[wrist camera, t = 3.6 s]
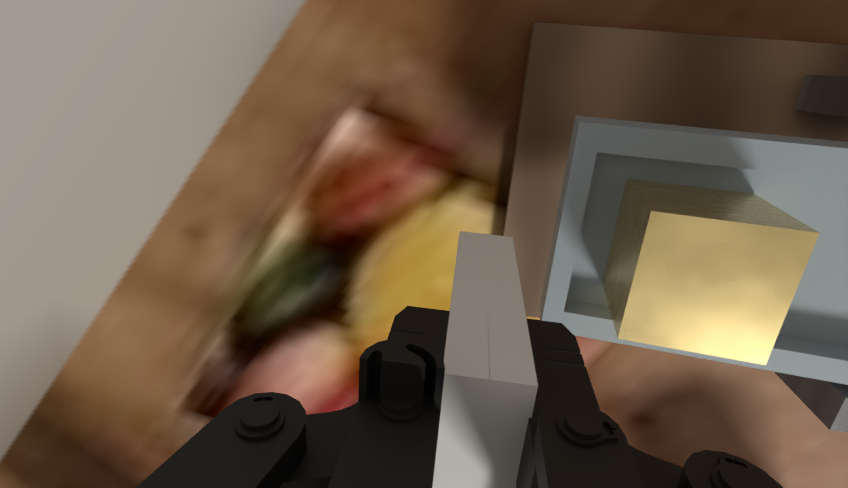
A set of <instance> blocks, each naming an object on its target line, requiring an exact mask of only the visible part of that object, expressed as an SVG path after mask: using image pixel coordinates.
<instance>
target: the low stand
mask: <svg viewBox="0 0 848 488" xmlns="http://www.w3.org/2000/svg"><path fill="white" fill-rule="evenodd" d="M575 116H585V117H596V118H606V119H616V120H627V121H637V122H647V123H657V124H668V125H678V126H688V127H699V128H709V129H719V130H730V131H740V132H750V133H760V134H771V135H781V136H791V137H802V138H812V139H822V140H832V141H843V142H848V45H844V44H830V43H817V42H803V41H789V40H775V39H762V38H748V37H734V36H720V35H707V34H693V33H679V32H666V31H652V30H638V29H624V28H611V27H597V26H583V25H569V24H556V23H542V22H534V23H533V24H532V31H531V38H530V45H529V52H528V59H527V65H526V72H525V79H524V86H523V93H522V100H521V107H520V114H519V121H518V128H517V135H516V142H515V149H514V156H513V163H512V170H511V177H510V184H509V191H508V198H507V205H506V212H505V219H504V226H503V233H502V236H508V237H513V243H514V249H515V255H516V261H517V266H518V272H519V278H520V284H521V290H522V295H523V301H524V307H525V313H526V316H532V317H540V303H541V297H542V292H543V286H544V281H545V276H546V270H547V265H548V260H549V254H550V249H551V243H552V238H553V233H554V227H555V222H556V217H557V211H558V206H559V200H560V195H561V190H562V184H563V179H564V174H565V168H566V163H567V157H568V152H569V147H570V141H571V136H572V131H573V125H574V120H575ZM775 373H776V374H777V375H778V376H779V377H780V378H781V380H782V381H783V382H784V383H785V384H786V385H787V386H788V387H789V388H790V389H791V390H792V391H793V392H794V393H795V394H796V395H797V396H798V397H799V398H800V399H801V400H802V401H803V403H804V404H805V405H806V406H807V407H808V408H809V409H810V410H811V411H812V412H813V413H814V414H815V415H816V416H817V417H818V418H819V419H820V420H821V421H822V422H823V423H824V424H825V426H826V427H827V428H828V429H829V430H834V431H842V432H848V385H845V384H840V383H834V382H829V381H823V380H818V379H812V378H807V377H801V376H796V375H790V374H785V373H779V372H775Z"/></svg>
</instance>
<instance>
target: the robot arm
mask: <svg viewBox="0 0 848 488" xmlns="http://www.w3.org/2000/svg"><path fill="white" fill-rule="evenodd" d="M136 488H783V487H782V486H781V485H780V484H779V483H777V482H776V481H775V480H774V479H773V478H772V477H770V476H769V475H768V474H767V473H766V472H764V471H763V470H762V469H760V468H758V467H756V466H755V465H753V464H751V463H749V462H748V461H746V460H744V459H742V458H739V457H736V456H733V455H730V454H727V453H725V452H718V451H709V450H705V451H701V452H697V453H693V454H692V455H691V456H690V457H689V459H688V460H687V461H686V463H685V465H684V468H682V467H680V466H677V465H674V464H672V463H669V462H666V461H664V460H661V459H658V458H656V457H653V456H650V455H648V454H646V453H644V452H641V451H639V450H637V449H635V448H634V447H632V446H630V445H629V444H628V442H627V439H626V437H625V435H624V433H623V432H622V430H621V429H620V427H619V425H618V424H617V423H616V422H615V421H613V420H612V419H611V418H610V417H609V416H608V415H606V414H605V413H603V412H601V411H600V409H599V406H598V403H597V400H596V397H595V394H594V391H593V388H592V385H591V382H590V379H589V376H588V373H587V370H586V367H584V361H583V358H582V355H581V354H580V349H579V346H578V343H577V340H576V337H575V336H574V335H573V334H572V333H571V332H570V331H569V330H568V329H567V328H566V327H565V326H564V325H563V324H562V323H558V322H549V321H541V320H533V319H526V313H525V307H524V301H523V295H522V290H521V284H520V278H519V272H518V266H517V261H516V255H515V249H514V243H513V237H508V236H499V235H490V234H480V233H471V232H462V231H460V233H459V241H458V249H457V257H456V265H455V273H454V281H453V289H452V297H451V306H450V311H445V310H437V309H428V308H420V307H412V306H407V307H406V308H405V309H403V310H402V311H401V312H400V313H399V314H397V315H396V316H395V318H394V321H393V324H392V327H391V331H390V333H389V336H388V339H387V340H385V341H381V342H378V343H376V344H374V345H372V346H370V347H368V348H367V349H366V350H365V351H364V353H363V354H362V355H361V357H360V367H359V401H358V402H357V403H356V404H354V405H352V406H350V407H347V408H345V409H342V410H338V411H333V412H328V413H319V414H309V415H306V411H305V409H304V408H303V406H302V405H301V403H300V402H299V401H298V400H296V399H294V398H292V397H291V396H289V395H286V394H280V393H275V392H268V393H257V394H253V395H250V396H247V397H244V398H241V399H239V400H237V401H235V402H234V403H232V404H231V405H229V406H228V407H226V408H225V409H224V410H223V411H221V412H220V413H219V414H218V415H217V416H216V417H215V418H214V419H212V420H211V421H210V422H209V423H208V424H207V425H206V426H205V427H204V428H202V429H201V430H200V431H199V432H198V433H197V434H196V435H195V436H193V437H192V438H191V439H190V440H189V441H188V442H187V443H186V444H184V445H183V446H182V447H181V448H180V449H179V450H178V451H177V452H175V453H174V454H173V455H172V456H171V457H170V458H169V459H168V460H167V461H165V462H164V463H163V464H162V465H161V466H160V467H159V468H158V469H156V470H155V471H154V472H153V473H152V474H151V475H150V476H149V477H147V478H146V479H145V480H144V481H143V482H142V483H141V484H140V485H138V486H137V487H136Z"/></svg>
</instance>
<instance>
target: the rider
mask: <svg viewBox="0 0 848 488" xmlns="http://www.w3.org/2000/svg"><path fill="white" fill-rule="evenodd" d="M818 236H819V232H817V231H816V230H814V229H812V228H811V227H809V226H807V225H806V224H804V223H802V222H801V221H799V220H797V219H796V218H794V217H792V216H791V215H789V214H787V213H786V212H784V211H782V210H781V209H779V208H777V207H776V206H774V205H772V204H771V203H769V202H767V201H766V200H764V199H763V198H761V197H759V196H758V195H756V194H752V193H744V192H735V191H727V190H719V189H710V188H702V187H693V186H685V185H677V184H668V183H660V182H651V181H643V180H635V179H627V180H626V184H625V188H624V192H623V197H622V201H621V205H620V209H619V214H618V218H617V222H616V226H615V231H614V235H613V239H612V243H611V247H610V252H609V256H608V260H607V264H606V269H605V273H604V277H603V281H602V284H603V288H604V291H605V295H606V298H607V302H608V306H609V309H610V313H611V317H612V320H613V324H614V327H615V331H616V335H617V338H618V339H622V340H628V341H633V342H639V343H645V344H650V345H656V346H661V347H667V348H672V349H678V350H684V351H689V352H695V353H700V354H706V355H711V356H717V357H722V358H728V359H734V360H739V361H745V362H750V363H756V364H761V365H766V363H767V361H768V359H769V356H770V354H771V351H772V349H773V346H774V344H775V341H776V339H777V336H778V334H779V332H780V329H781V327H782V324H783V322H784V319H785V317H786V314H787V312H788V309H789V307H790V305H791V302H792V300H793V297H794V295H795V292H796V290H797V287H798V285H799V282H800V280H801V278H802V275H803V273H804V270H805V268H806V265H807V263H808V260H809V258H810V255H811V253H812V251H813V248H814V246H815V243H816V241H817V238H818Z"/></svg>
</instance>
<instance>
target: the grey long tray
mask: <svg viewBox="0 0 848 488" xmlns="http://www.w3.org/2000/svg"><path fill="white" fill-rule="evenodd" d="M627 179H635V180H643V181H651V182H660V183H668V184H677V185H685V186H693V187H702V188H710V189H719V190H727V191H735V192H744V193H752V194H756V195H758V196H759V197H761V198H763V199H764V200H766V201H767V202H769V203H771V204H772V205H774V206H776V207H777V208H779V209H781V210H782V211H784V212H786V213H787V214H789V215H791V216H792V217H794V218H796V219H797V220H799V221H801V222H802V223H804V224H806V225H807V226H809V227H811V228H812V229H814V230H816V231H817V232H819V236H818V238H817V241H816V243H815V246H814V248H813V251H812V253H811V255H810V258H809V260H808V263H807V265H806V268H805V270H804V273H803V275H802V278H801V280H800V282H799V285H798V287H797V290H796V292H795V295H794V297H793V300H792V302H791V305H790V307H789V309H788V312H787V314H786V317H785V319H784V322H783V324H782V327H781V329H780V332H779V334H778V336H777V339H776V341H775V344H774V346H773V349H772V351H771V354H770V356H769V359H768V361H767V363H766V365H761V364H756V363H750V362H745V361H739V360H734V359H728V358H722V357H717V356H711V355H706V354H700V353H695V352H689V351H684V350H678V349H672V348H667V347H661V346H656V345H650V344H645V343H639V342H633V341H628V340H622V339H618V338H617V335H616V331H615V327H614V324H613V320H612V317H611V313H610V309H609V306H608V302H607V298H606V295H605V291H604V288H603V284H602V281H603V277H604V273H605V269H606V264H607V260H608V256H609V252H610V247H611V243H612V239H613V235H614V231H615V226H616V222H617V218H618V214H619V209H620V205H621V201H622V197H623V192H624V188H625V184H626V180H627ZM540 320H541V321H549V322H558V323H562V324H563V325H564V326H565V327H566V328H567V329H568V330H569V331H570V332H571V333H572V334H573V335H576V336H581V337H587V338H592V339H598V340H603V341H609V342H614V343H620V344H625V345H631V346H636V347H642V348H647V349H653V350H658V351H664V352H669V353H675V354H680V355H686V356H691V357H697V358H702V359H708V360H713V361H719V362H724V363H730V364H735V365H741V366H746V367H752V368H757V369H763V370H768V371H774V372H779V373H785V374H790V375H796V376H801V377H807V378H812V379H818V380H823V381H829V382H834V383H840V384H845V385H848V142H843V141H832V140H822V139H812V138H802V137H791V136H781V135H771V134H760V133H750V132H740V131H730V130H719V129H709V128H699V127H688V126H678V125H668V124H657V123H647V122H637V121H627V120H616V119H606V118H596V117H585V116H575V120H574V125H573V131H572V136H571V141H570V147H569V152H568V157H567V163H566V168H565V174H564V179H563V184H562V190H561V195H560V200H559V206H558V211H557V217H556V222H555V227H554V233H553V238H552V243H551V249H550V254H549V260H548V265H547V270H546V276H545V281H544V286H543V292H542V297H541V303H540Z"/></svg>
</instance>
